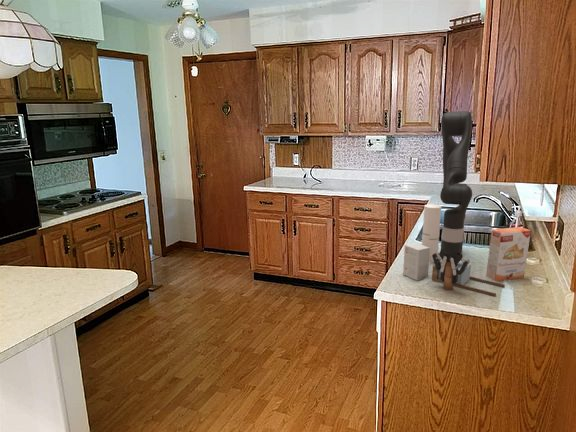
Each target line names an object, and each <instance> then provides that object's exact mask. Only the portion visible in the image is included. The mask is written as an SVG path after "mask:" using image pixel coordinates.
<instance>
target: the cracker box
mask: <svg viewBox="0 0 576 432" xmlns="http://www.w3.org/2000/svg"><path fill="white" fill-rule="evenodd" d="M531 232H532V231H531V229H528V228H524V227H522V226H517V227H515V226H514V227H506V228H495V229H494V228H492V229H491V233H490V242H489V248H488V249H489V250H488V257H487V265H486V274H485V275H486V276H485V277H487V278H489V279H491V280H493V282H498V281H500V282H501V281H506V280H513V279H520V278H523V279H524V278H525V273H526V268H527V267H526V265H527V259H528V254H529V246H530V240H531V239H530V238H531Z"/></svg>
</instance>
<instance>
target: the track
mask: <svg viewBox="0 0 576 432" xmlns="http://www.w3.org/2000/svg"><path fill="white" fill-rule="evenodd" d="M442 262H443V261H442V260H440V263H441V264H442ZM438 276H439V270H437V269H436V267H435V264H433V266H432V271H431V281H433V282H436V283H441V284H444V282H443V281H441V279H438ZM470 280H471V281H473V282H478V283H482V284H487V285H491V286H495V287H498V288H503V289H504V288H505V287H506V285H505V284H503V283H499V282H496V281H491V280H488V279H487V280H486V279H482V278H479V277H474V276H471V275H470ZM470 280H469V281H470ZM453 287H455V288H456V287H457V288H460V289H463V290H468V291H471V292H474V293H475V292H476V293H478V294H482V295H486V296H491V297H497V293H495V292H492V291H487V290H483V289H480V288H476V287H471V286H469V285H465V284H464V285H461V284H457V283H455V284H453Z"/></svg>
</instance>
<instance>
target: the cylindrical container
mask: <svg viewBox="0 0 576 432" xmlns="http://www.w3.org/2000/svg"><path fill="white" fill-rule="evenodd" d="M423 210H424V211H423V223H422V233H421V234H422V235H421V236H422V238H421V245H423V246H426V247H429V248H430V255H429V264H431V263H432V264H433V263H434V260H433V257H432V255H433V254H434V253H439V246H440V245H439V242H440V232H441V229H440V228H441V217H442V205H439V204H424V207H423Z"/></svg>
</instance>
